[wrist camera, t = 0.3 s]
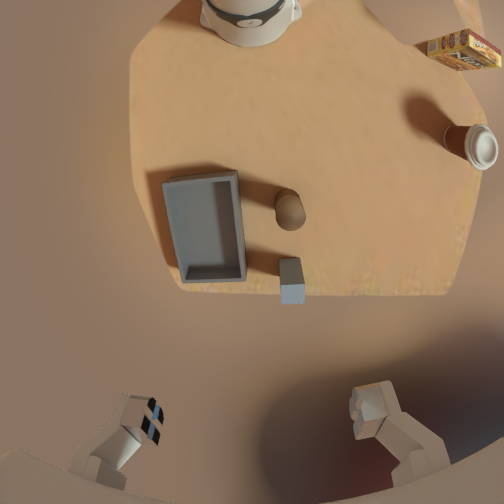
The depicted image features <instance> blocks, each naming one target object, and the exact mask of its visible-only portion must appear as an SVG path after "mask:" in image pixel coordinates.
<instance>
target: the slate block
mask: <svg viewBox="0 0 504 504" xmlns="http://www.w3.org/2000/svg"><path fill="white" fill-rule="evenodd" d="M279 271H280V291H281V304H300V303H304V301H305V282H304V277H303V271H302V266H301V261H300V258H289V259H279Z"/></svg>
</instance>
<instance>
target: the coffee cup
mask: <svg viewBox="0 0 504 504" xmlns="http://www.w3.org/2000/svg"><path fill="white" fill-rule="evenodd" d="M443 139H444V144H445V147H446V149H447V150H448V151H449V152H451V153H453V154H455V155H457V156H459V157H461V158H463V159H465V160H467V161H469V163H470V164H471V165H472V166H473V167H475V168H476V169H478V170H486V169H487V168H489V167H490V166H491V165H493V164H494V162H495V161H496V159H497V155H498V144H497V141H496V138H495V136H494V135H493V134H492V132H491V130H490V129H489V128H488V127H486V126H485V125H483V124H475V125H473V126H471V127H470V126H449V127H447V129H446V130H445V132H444V136H443Z"/></svg>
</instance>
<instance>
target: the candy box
mask: <svg viewBox="0 0 504 504" xmlns="http://www.w3.org/2000/svg"><path fill="white" fill-rule="evenodd" d="M427 56H428V57H430V58H432V59H434V60H436V61H438V62H440V63H442V64H444V65H446V66H448V67H450V68H452V69H454V70H456V71H464V70H474V69H487V68H501V51H500V50H499V49H498V48H496V47H495V46H493V45H492V44H491V43H489V42H488V41H486V40H485V39H483V38H482V37H480V36H479V35H477V34H476V33H474V32H473V31H471V30H470V29H464V30H461V31H458V32H454V33H451V34H448V35H445V36H442V37H440V38H436V39H434V40H431V41H428V46H427Z"/></svg>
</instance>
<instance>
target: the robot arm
mask: <svg viewBox="0 0 504 504" xmlns="http://www.w3.org/2000/svg"><path fill="white" fill-rule="evenodd" d="M201 1H202V2H203V4H202V10H201V15H200V23H201V25H202V26H204V27H206V28H209V29H212V30H214V31H215V32H216V33H217V34H218V35H219V36H220V37H221V38H223V39H224V40H226V41H227V42H229V43H231V44H234V45H237V46H242V47H257V46H262V45H266V44H268V43H271V42H273V41H275V40H276V39H278V38H279V37H280V36H281V35H282V34H283V33H284V32H285V31H286V29H287V28H288V26H289V25H290V24H291V23H293V22H295V21H296V20H298V19H299V18H301V16H302V11H301V8H300V6H299V4H298V1H297V0H201ZM294 8H296V9H295V10H294ZM352 394H353V397H351V399H350V414H351V418H352V419H353V420H354V421H355V423H354V426H353V429H354V433H355V438H356V440H358V439H364V438H369V437H374V436H375V437H376V438H377V439H378V440H379V441H380V442H381V443H382V444H383V445H384V446H385V447H386V448H387V449H388V450H389V451H390V452H391V453H392V454H393V455H394V456H395V457H396V458H397V459H398V460H399V461H400V462H401V463H400V464H399V465H398V466H397V467H396V468H395V469H394V470H393V471H392V473H391V474H392V479H393V484H394V487H393V488H390V489H387V490H383V491H380V492H376V493H372V494H368V495H364V496H360V497H356V498H350V499H345V500H341V501H335V502H329V503H322V504H504V437H502V438H500V439H499V440H497V441H496V442H494V443H492V444H491V445H489V446H488V447H486V448H484V449H482V450H480V451H478V452H477V453H475V454H473V455H471V456H469V457H467V458H465V459H463V460H461V461H460V462H457V463H455V464H453V465H451V464H450V460H449V457H448V454H447V451H446V448H445V445H444V442H443V440H442V439H441V438H439V437H438V436H437V435H436V434H434V433H433V432H431V431H430V430H429V429H427V428H426V427H425V426H423V425H422V424H420V423H419V422H418V421H416V420H415V419H414V418H412V417H411V416H410V415H408V414H407V413H406V412H403V413H402V411H401V408H400V406H399V403H398V400H397V397H396V394H395V392H394V389H393V386H392V384H391V382H390V381H384V382H379V383H374V384H370V385H366V386H361V387H356V388H354V389H353V391H352ZM163 421H164V414H163V411H162V409H161V407H160V406H158V405H156V400H155V399H154V398H153V397H143V396H134V395H127V394H121V396H120V397H119V399H118V402H117V404H116V407H115V410H114V412H113V415H112V418H111V421H110V423H106V424H105V425H104V426H103V427H101V428H100V429H99V430H98V431H97V432H95V433H94V434H93V435H92V436H90V437H89V438H88V439H87V440H85V441H84V442H83V443H82V444H80V445H79V446H78V447H77V448H76V449H75V451H74V454H73V456H72V459H71V462H70V465H69V468H68V471H66V470H63V469H61V468H59V467H57V466H54V465H52V464H50V463H48V462H46V461H44V460H42V459H40V458H38V457H36V456H34V455H32V454H30V453H29V452H27V451H25V450H23V449H21V448H15V449H12V450H11V451H9V452H7V453H6V454H4V455H3V456H1V457H0V504H184V503H177V502H171V501H165V500H159V499H155V498H149V497H146V496H141V495H137V494H133V493H129V492H126V491H124V490H125V485H126V480H127V477H126V476H125V475H124V474H122V473H121V472H119V471H118V470H119V468H120V467H121V466H122V465H123V464H124V463H125V462H126V461H127V460H128V459H129V458H130V457H131V455H132V454H133V453H134V452H135V451H136V450H137V449H138V448H139V447H140V446H141V444H146V445H153V446H158V443H159V439H160V432H159V430H158V429H159V428H160V427H161V426H162V425H163Z"/></svg>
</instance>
